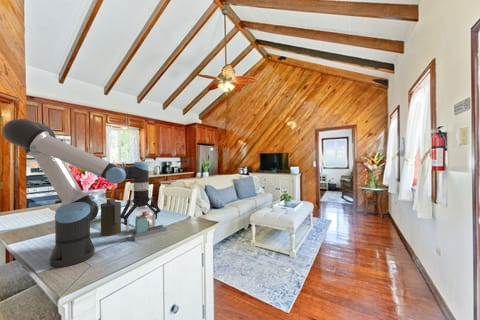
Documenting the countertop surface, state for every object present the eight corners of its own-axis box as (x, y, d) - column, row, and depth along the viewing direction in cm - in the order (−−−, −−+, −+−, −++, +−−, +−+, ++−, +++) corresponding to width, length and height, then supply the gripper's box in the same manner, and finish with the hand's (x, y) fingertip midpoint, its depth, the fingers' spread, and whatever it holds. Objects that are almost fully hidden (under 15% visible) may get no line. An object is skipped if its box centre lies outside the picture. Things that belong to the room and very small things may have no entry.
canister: (96, 234, 114) (96, 199, 114) (115, 228, 123) (114, 196, 123) (107, 237, 109) (107, 201, 109) (125, 231, 118) (125, 198, 118)
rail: (134, 240, 105) (134, 234, 105) (131, 236, 110) (131, 231, 110) (166, 233, 116) (166, 227, 116) (162, 229, 121) (162, 224, 121)
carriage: (137, 236, 107) (137, 218, 107) (135, 233, 110) (135, 216, 110) (147, 234, 110) (147, 217, 110) (145, 231, 114) (144, 215, 113)
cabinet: (139, 233, 115) (139, 218, 115) (135, 229, 122) (135, 214, 122) (155, 229, 121) (155, 215, 121) (151, 226, 128) (151, 212, 128)
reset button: (143, 219, 119) (143, 212, 119) (141, 218, 122) (141, 211, 122) (149, 218, 122) (149, 211, 122) (147, 217, 124) (147, 210, 124)
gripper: (116, 193, 99) (116, 235, 99) (166, 188, 115) (166, 224, 115) (113, 191, 105) (114, 231, 105) (161, 187, 121) (161, 221, 121)
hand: (141, 227), depth 110 cm, fingers open, 13 cm apart
